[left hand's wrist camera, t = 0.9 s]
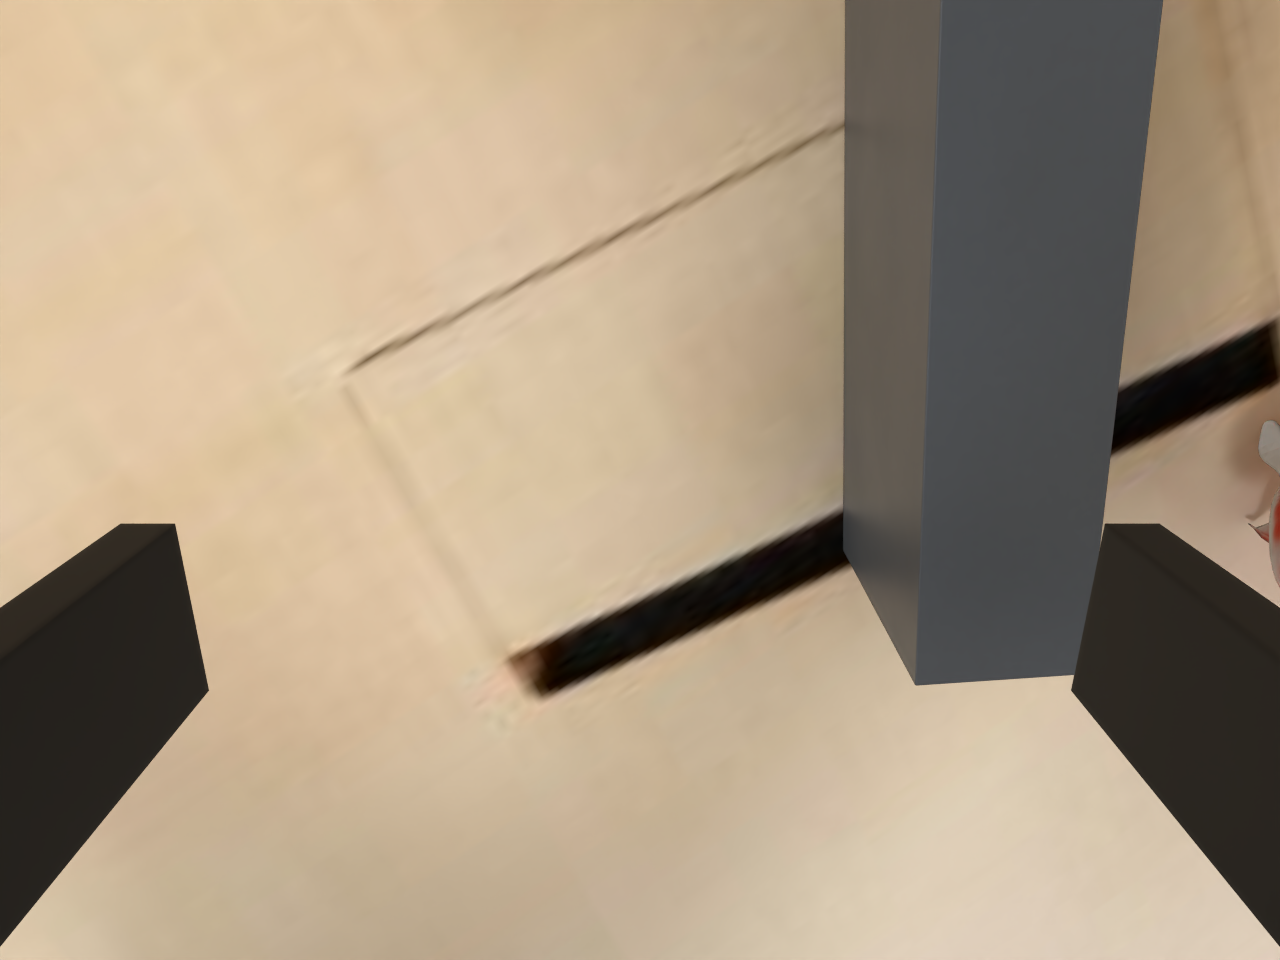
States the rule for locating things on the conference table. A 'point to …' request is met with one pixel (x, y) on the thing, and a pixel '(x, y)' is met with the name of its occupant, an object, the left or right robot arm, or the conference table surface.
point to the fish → (1275, 450)
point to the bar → (987, 315)
